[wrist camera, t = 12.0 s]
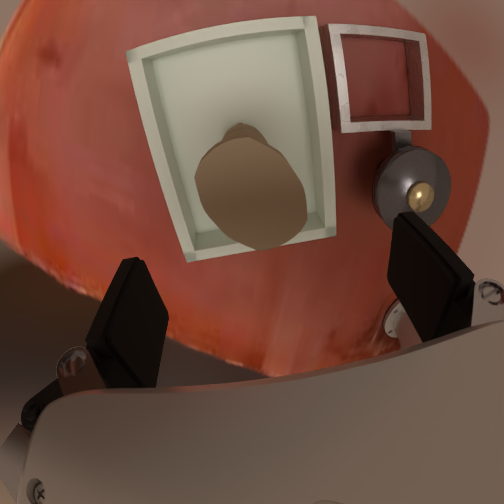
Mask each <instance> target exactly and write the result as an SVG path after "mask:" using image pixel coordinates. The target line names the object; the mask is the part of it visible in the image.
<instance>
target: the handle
mask: <svg viewBox="0 0 504 504" xmlns="http://www.w3.org/2000/svg"><path fill="white" fill-rule="evenodd" d="M194 179H195V183H196V187H197V191H198V195H199V198H200V202H201V204H202V206H203V209H204V211H205V212H206V214H207V215H208V216H209V218H210V219H211V220H212V221H213V222H214V223H215V224H216V225H217V227H218V228H219V229H220V230H221V231H222V232H223V233H224V234H225V235H226V236H228V237H229V238H231V239H232V240H234V241H236V242H238V243H240V244H243V245H245V246H247V247H250V248H252V249H255V250H257V251H260V250H268V249H273V248H275V247H278V246H280V245H282V244H284V243H286V242H288V241H289V240H291V239H292V238H294V237H295V236H296V235H297V234H298V233H299V232H300V231H301V230H302V228H303V227H304V225H305V224H306V222H307V220H308V216H307V203H306V195H305V191H304V187H303V185H302V183H301V181H300V179H299V178H298V176H297V175H296V173H295V172H294V170H293V169H292V167H291V166H290V164H289V163H288V161H287V160H286V158H285V157H284V156H283V154H282V153H281V152H280V151H278V150H277V149H275V148H274V147H272V146H271V145H269V144H268V143H267V141H266V139H265V138H264V136H263V135H262V134H261V133H260V131H258V130H257V129H256V128H255V127H253V126H251V125H247V124H243V123H237V125H235V126H233V127H231V128H230V129H229V130H227V132H226V133H225V135H224V137H223V139H222V140H221V141H220V142H218V143H217V144H215V145H214V146H213V147H212V148H210V149H209V150H208V151H207V152H206V154H205V155H204V156H203V157H202V159H201V161H200V163H199V165H198V167H197V170H196V173H195V176H194Z"/></svg>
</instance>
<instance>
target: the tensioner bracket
mask: <svg viewBox="0 0 504 504" xmlns="http://www.w3.org/2000/svg"><path fill="white" fill-rule="evenodd" d="M319 34H320V39H321V45H322V52H323V58H324V65H325V72H326V80H327V88H328V96H329V105H330V115H331V126H332V128H334V129H335V130H337V131H339V132H340V133H350V132H364V131H383V130H391V154H390V155H389V156H387V158H386V159H385V160H383V161H381V162H380V163H379V164H378V166H377V172H376V174H375V177H374V180H373V185H372V202H373V205H374V208H375V210H376V212H377V214H378V215H379V216H380V218H381V219H382V220H383V221H384V222H385V223H386V224H387V225H388V227H389V228H391V229H392V230H393V222H394V218H395V217H397V215H398V214H399V213H402V212H409V211H413V212H415V213H416V214H417V215H418V216H419V217H420V218H421V219H422V220H423V221H424V222H425V223H426V224H427V225H428V226H430V225H432V224H433V223H434V222H435V221H436V220H437V219H438V218H439V216H440V215H441V214H442V212H443V211H444V209H445V207H446V205H447V202H448V199H449V196H450V190H451V178H450V173H449V170H448V168H447V166H446V164H445V162H444V161H443V160H442V159H441V158H440V157H439V156H437V155H436V154H434V153H432V152H431V151H429V150H427V149H425V148H423V147H420V146H411V132H410V131H408V130H431V87H430V72H429V60H428V51H427V43H426V35H425V34H423V33H418V32H413V31H407V30H400V29H393V28H386V27H377V26H366V25H351V24H326V25H324V26H322V27H320V28H319ZM341 37H357V38H373V39H384V40H394V41H402V42H404V44H405V52H406V61H407V71H408V84H409V103H410V116H361V117H350V110H349V99H348V89H347V80H346V71H345V64H344V56H343V49H342V43H341Z"/></svg>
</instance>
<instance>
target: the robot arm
mask: <svg viewBox="0 0 504 504" xmlns="http://www.w3.org/2000/svg"><path fill="white" fill-rule="evenodd" d="M387 278H388V282H389V284H390V286H391V288H392V289H393V291H394V293H395V294H396V296H397V298H398V300H397V301H396V302H395V303H394V304H393V305H392V306H391V307H390V309H389V310H388V312H387V313H386V315H385V318H384V321H383V327H384V330H385V332H386V334H387V335H388V336H390V337H393V338H398V339H399V341H400V345H401V347H400V349H399V350H397V351H394V352H390V353H387V354H383V355H380V356H376V357H372V358H368V359H364V360H360V361H356V362H352V363H347V364H343V365H338V366H334V367H329V368H324V369H319V370H314V371H309V372H304V373H298V374H292V375H286V376H280V377H273V378H266V379H259V380H251V381H243V382H234V383H225V384H213V385H200V386H183V387H160V388H156V383H157V377H158V372H159V366H160V361H161V356H162V350H163V344H164V340H165V335H166V330H167V326H168V321H169V315H168V311H167V309H166V307H165V305H164V303H163V301H162V299H161V297H160V295H159V293H158V290H157V288H156V286H155V284H154V282H153V280H152V277H151V275H150V273H149V271H148V268H147V266H146V264H145V262H144V261H143V260H140V259H139V258H138V257H133V258H128V259H123V260H122V262H121V264H120V266H119V268H118V270H117V272H116V274H115V276H114V278H113V280H112V282H111V284H110V286H109V288H108V290H107V292H106V294H105V296H104V298H103V301H102V303H101V305H100V307H99V309H98V312H97V314H96V316H95V318H94V321H93V323H92V325H91V328H90V330H89V332H88V335H87V337H86V340H85V341H86V342H87V343H88V344H87V346H86V348H84V347H75V348H72V349H70V350H68V351H67V352H66V353H64V354H63V356H62V357H61V358H60V359H59V361H58V364H57V368H56V372H57V377H58V378H57V379H56V380H54V381H53V382H52V383H50V384H49V385H48V386H47V387H45V388H44V389H43V390H42V391H40V392H39V393H38V394H36V395H35V396H34V397H32V398H31V399H30V400H29V401H28V402H27V403H26V404H25V406H24V407H23V410H22V413H21V421H22V425H21V424H19V423H18V424H17V425H16V426H15V428H14V429H13V430H12V432H11V433H10V434H9V436H8V437H7V438H6V440H5V441H4V443H3V444H2V445H1V447H0V478H1V479H2V481H3V483H4V485H5V486H6V488H7V489H8V491H9V492H10V494H11V495H12V497H13V499H14V500H15V502H16V503H17V504H504V286H503V285H502V284H501V283H499V282H498V281H496V280H493V279H488V278H485V279H481V280H479V281H478V282H477V283H475V282H474V281H473V278H474V274H473V273H472V271H471V270H470V269H469V268H468V267H467V266H466V265H465V264H464V262H462V260H461V259H460V258H459V257H458V256H457V255H456V254H455V252H454V251H453V250H452V249H451V248H450V247H449V246H448V245H447V244H446V243H445V242H444V241H443V240H442V239H441V238H440V237H439V236H438V235H437V234H436V233H435V232H434V231H433V230H432V229H431V228H430V227H429V226H428V225H427V224H426V223H425V222H424V221H423V220H422V219H421V218H420V217H419V216H418V215H417V214H416V213H415V212H413V211H409V212H402V213H399V214H398V215H397V217H395V218H394V222H393V232H392V242H391V250H390V258H389V266H388V273H387Z"/></svg>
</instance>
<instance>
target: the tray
mask: <svg viewBox="0 0 504 504" xmlns="http://www.w3.org/2000/svg"><path fill="white" fill-rule="evenodd" d="M126 55H127V60H128V65H129V69H130V73H131V78H132V82H133V86H134V90H135V95H136V99H137V103H138V107H139V110H140V114H141V118H142V122H143V126H144V129H145V133H146V137H147V140H148V144H149V147H150V151H151V154H152V158H153V161H154V164H155V168H156V171H157V174H158V178H159V181H160V184H161V187H162V191H163V194H164V197H165V200H166V203H167V206H168V209H169V212H170V215H171V218H172V221H173V224H174V227H175V230H176V233H177V236H178V239H179V242H180V244H181V247H182V250H183V253H184V256H185V258H186V261H187V262H192V261H197V260H203V259H208V258H214V257H220V256H225V255H231V254H237V253H242V252H248V251H253V250H255V249H252V248H250V247H247V246H245V245H243V244H240V243H238V242H236V241H234V240H232V239H231V238H229V237H228V236H226V235H225V234H224V233H223V232H222V231H221V230H220V229H219V228H218V227H217V225H216V224H215V223H214V222H213V221H212V220H211V219H210V218H209V216H208V215H207V214H206V212H205V211H204V209H203V206H202V204H201V202H200V198H199V195H198V191H197V187H196V183H195V179H194V176H195V173H196V170H197V167H198V165H199V163H200V161H201V159H202V157H203V156H204V155H205V154H206V152H207V151H208V150H209V149H210V148H212V147H213V146H214V145H215V144H217V143H218V142H220V141H221V140H222V139H223V137H224V135H225V133H226V132H227V130H229V129H230V128H231V127H233V126H235V125H237V123H243V124H247V125H251V126H253V127H255V128H256V129H257V130H258V131H260V133H261V134H262V135H263V136H264V138H265V139H266V141H267V143H268V144H269V145H271V146H272V147H274V148H275V149H277V150H278V151H280V152H281V153H282V154H283V156H284V157H285V158H286V160H287V161H288V163H289V164H290V166H291V167H292V169H293V170H294V172H295V173H296V175H297V176H298V178H299V179H300V181H301V183H302V185H303V187H304V191H305V195H306V203H307V216H308V220H307V222H306V224H305V225H304V227H303V228H302V230H301V231H300V232H299V233H298V234H297V235H296V236H295V237H294V238H292V239H291V240H289V241H288V242H286V243H284V244H282V245H287V244H293V243H298V242H304V241H310V240H315V239H321V238H327V237H332V236H336V199H335V175H334V158H333V143H332V131H331V120H330V110H329V100H328V92H327V83H326V76H325V68H324V61H323V55H322V48H321V42H320V36H319V31H318V25H317V20H316V16H300V17H281V18H269V19H259V20H251V21H243V22H236V23H230V24H224V25H219V26H214V27H209V28H204V29H199V30H195V31H191V32H187V33H183V34H179V35H175V36H172V37H168V38H165V39H161V40H158V41H155V42H152V43H149V44H146V45H143V46H140V47H137V48H134V49H131V50H129V51H126ZM282 245H280V246H282Z"/></svg>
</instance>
